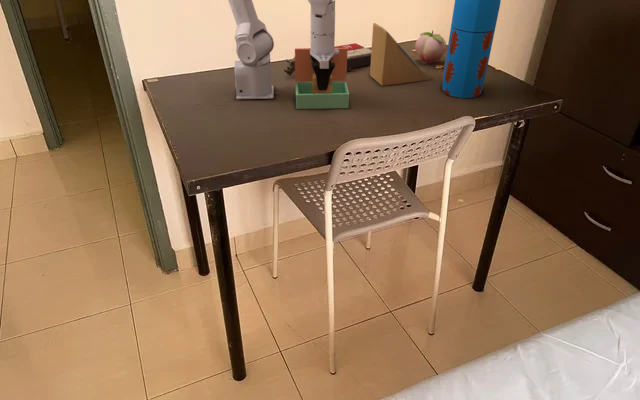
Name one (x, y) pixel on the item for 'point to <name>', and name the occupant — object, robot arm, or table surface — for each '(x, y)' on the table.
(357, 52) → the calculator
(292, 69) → the rhino figurine
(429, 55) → the decorative fruit
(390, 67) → the sandwich container
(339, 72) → the lid
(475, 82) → the thermos
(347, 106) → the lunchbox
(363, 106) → the table surface
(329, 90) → the block
